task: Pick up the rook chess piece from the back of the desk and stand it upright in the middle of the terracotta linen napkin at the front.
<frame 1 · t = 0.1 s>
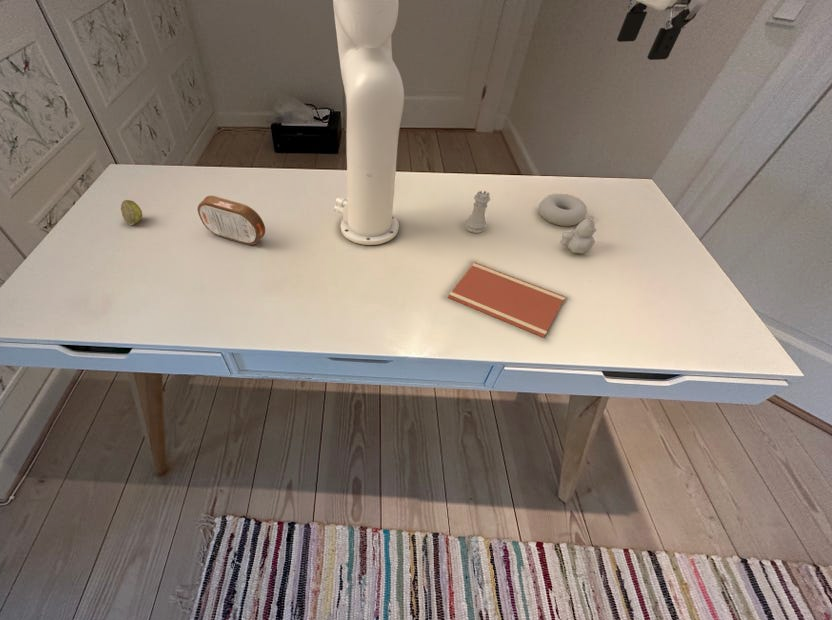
hand: (640, 49, 70), 31 cm above the table, tool pointing down, fingers open, 9 cm apart
rook chess piece: (474, 228, 92), on the table
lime: (135, 222, 94), on the table
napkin: (506, 297, 78), on the table
grey lumpy figurine: (572, 250, 87), on the table
donut: (559, 216, 95), on the table
tin: (235, 239, 90), on the table
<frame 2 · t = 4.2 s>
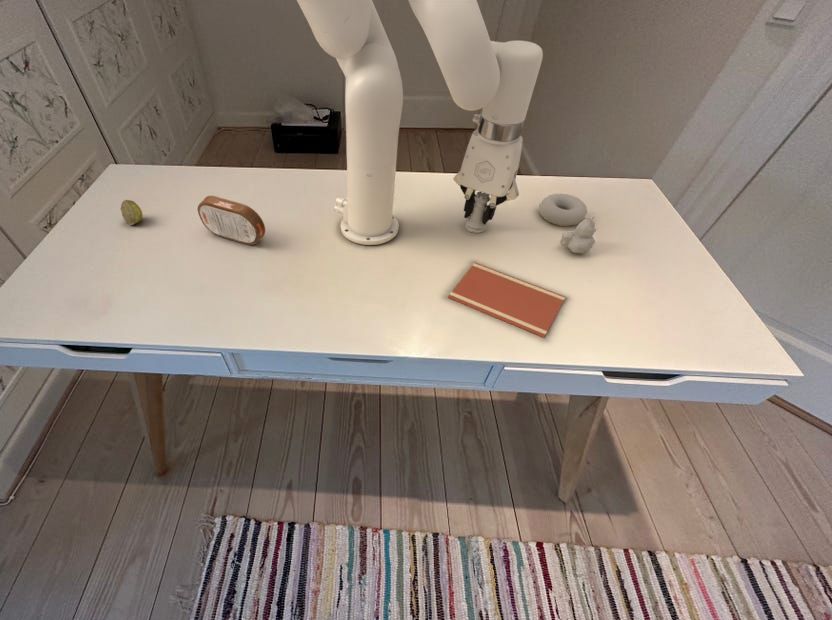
hand: (477, 217, 90), 3 cm above the table, tool pointing down, fingers closed on rook chess piece, 3 cm apart
rook chess piece: (474, 228, 92), on the table, touching gripper
everything else where it was.
when the fingers open (3 cm above the table, at t = 11.0 s): rook chess piece stays where it is, resting on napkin.
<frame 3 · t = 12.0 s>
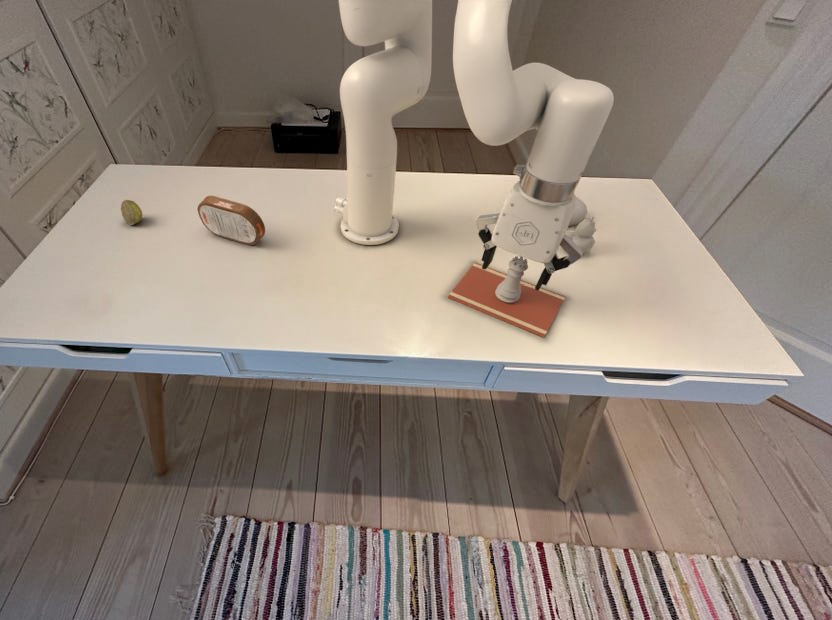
hand: (512, 275, 74), 5 cm above the table, tool pointing down, fingers open, 9 cm apart
rook chess piece: (506, 296, 78), resting on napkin
everything else where it was.
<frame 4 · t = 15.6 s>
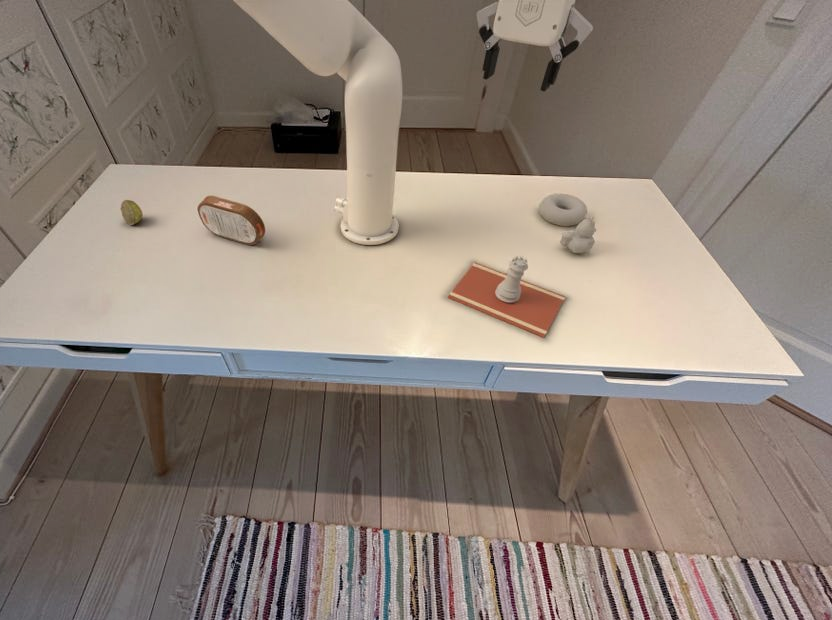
hand: (516, 82, 69), 28 cm above the table, tool pointing down, fingers open, 9 cm apart
nothing on the table moved.
at the end: rook chess piece inside the target area on the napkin (0.1 cm from its centre), point 0.2 cm above the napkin's base; rook chess piece tilted 0° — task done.
